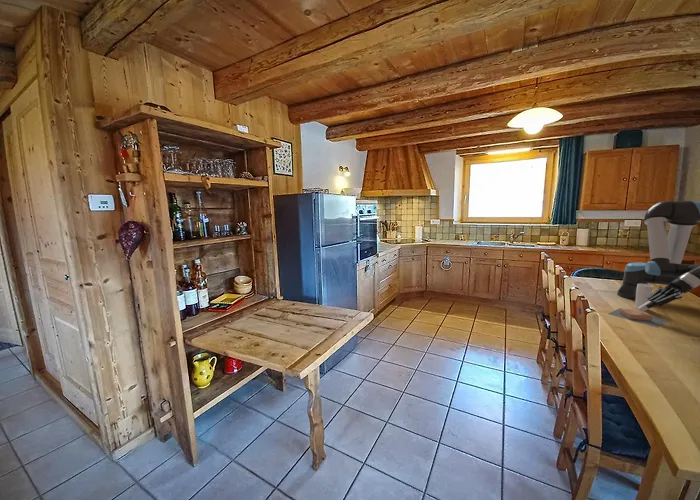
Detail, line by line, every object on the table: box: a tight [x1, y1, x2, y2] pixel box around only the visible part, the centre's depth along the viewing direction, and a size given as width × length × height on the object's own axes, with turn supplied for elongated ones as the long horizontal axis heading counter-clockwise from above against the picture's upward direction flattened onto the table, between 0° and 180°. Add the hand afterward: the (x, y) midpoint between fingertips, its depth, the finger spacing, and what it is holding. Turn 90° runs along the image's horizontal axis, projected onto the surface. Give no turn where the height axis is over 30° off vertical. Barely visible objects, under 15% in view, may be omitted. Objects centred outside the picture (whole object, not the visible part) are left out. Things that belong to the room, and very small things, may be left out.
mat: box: [607, 308, 669, 328], centre depth 155 cm, size 17×20×1 cm
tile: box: [620, 308, 654, 321], centre depth 154 cm, size 3×8×10 cm
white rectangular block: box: [634, 283, 654, 309], centre depth 166 cm, size 7×7×15 cm
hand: (639, 309), depth 153 cm, fingers closed
